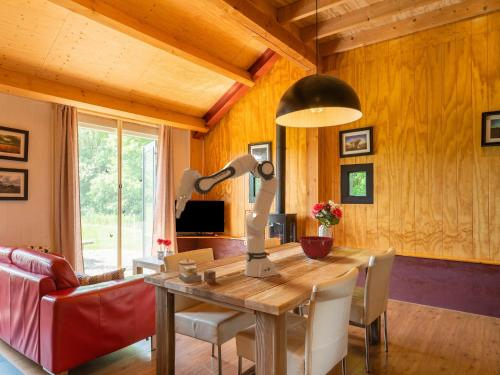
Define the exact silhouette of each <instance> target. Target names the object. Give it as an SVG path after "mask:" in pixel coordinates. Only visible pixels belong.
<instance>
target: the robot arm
mask: <svg viewBox="0 0 500 375" xmlns="http://www.w3.org/2000/svg"><path fill="white" fill-rule="evenodd" d="M247 173H250V174H251V175H252V176H253V177H254V178H256V179H260V185H259V187H258V190H257V193H256V196H255V199H254V201H253V205H252V206H253V208H252V211H250V212H248V214H247V215H246V217H245V229H246V255H245V258H246V263H245V269H244V272H243V273H244V274H243V275H244V276H246V277H251V278H252V277H253V278H268V277H271V276H276V275H280V271H279V270H276V264H275V263H274V261H272V260H270V258H268V257H269V256H270V255H271V253H270V252H266V250H265V249H266V248H265V246H266V245H265V242H266V241H265V235H264V229H266V228H267V226H268V220H269V217H270V212H271V207H272V205H273V203H274V199H275V196H276V193H277V191H278V186H279V180H278V178H277V177H276V176H275V165H274V163H272V161H269V160H266V159H265V160H256V157H255V156H254V155H253V154H251V153H247V154H244V155H241V156H238V157H236V158H234V159H232V160H230V161H229V162H228V163H227V164H226V165H225V166H224V167H223V168H222V169H220V170H219V171H217V172H215V173H213V174H211V175H209V176H206V175H205V176H202V174H200V172H199V171H198V170H197V169H193V168H185V170H183V172H182V175H181V178H180V180H179V186H178V187H177V190H176V194H175V196H176V197H177V198H176V199H177V200H176V204H175V209H176V213H175V216H174V217H176V219H180V218H181V214H182V212H184V210H185V207H186V203H187V202H188V200H191V198H192V195H193V192H195V193H197V194H198V195H206V194H209V193H210V192H211V191H213V189H214V187H216V186H217V185H219V184H221V183H223V182H225V181H226V180H231V179H236V178H239V177H242V176H244V175H245V174H247Z"/></svg>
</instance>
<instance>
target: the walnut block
mask: <svg viewBox="0 0 500 375" xmlns="http://www.w3.org/2000/svg"><path fill="white" fill-rule="evenodd" d="M216 275H217V274H216V271H215V270H214V269H209V270H204V271H203V282H204V281H205V282H204V283H206V282H207V283H206V284H210V283H209V282H214V283H216Z"/></svg>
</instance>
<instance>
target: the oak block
mask: <svg viewBox="0 0 500 375" xmlns="http://www.w3.org/2000/svg"><path fill="white" fill-rule="evenodd" d="M197 273H198V267H197V266H196V267H195V266H187V267H184V274H185V275H187V276H190V275H197Z"/></svg>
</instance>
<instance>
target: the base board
mask: <svg viewBox="0 0 500 375" xmlns="http://www.w3.org/2000/svg"><path fill="white" fill-rule="evenodd" d="M178 278H179V279H180V280H181V281H182V282H183V283H191V282H198V280H199V281H202V279H203V278H202V274H201V273H199V272H197V275H190V276H187V275H185V274H184V273H181V272H180V273H179V277H178Z"/></svg>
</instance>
